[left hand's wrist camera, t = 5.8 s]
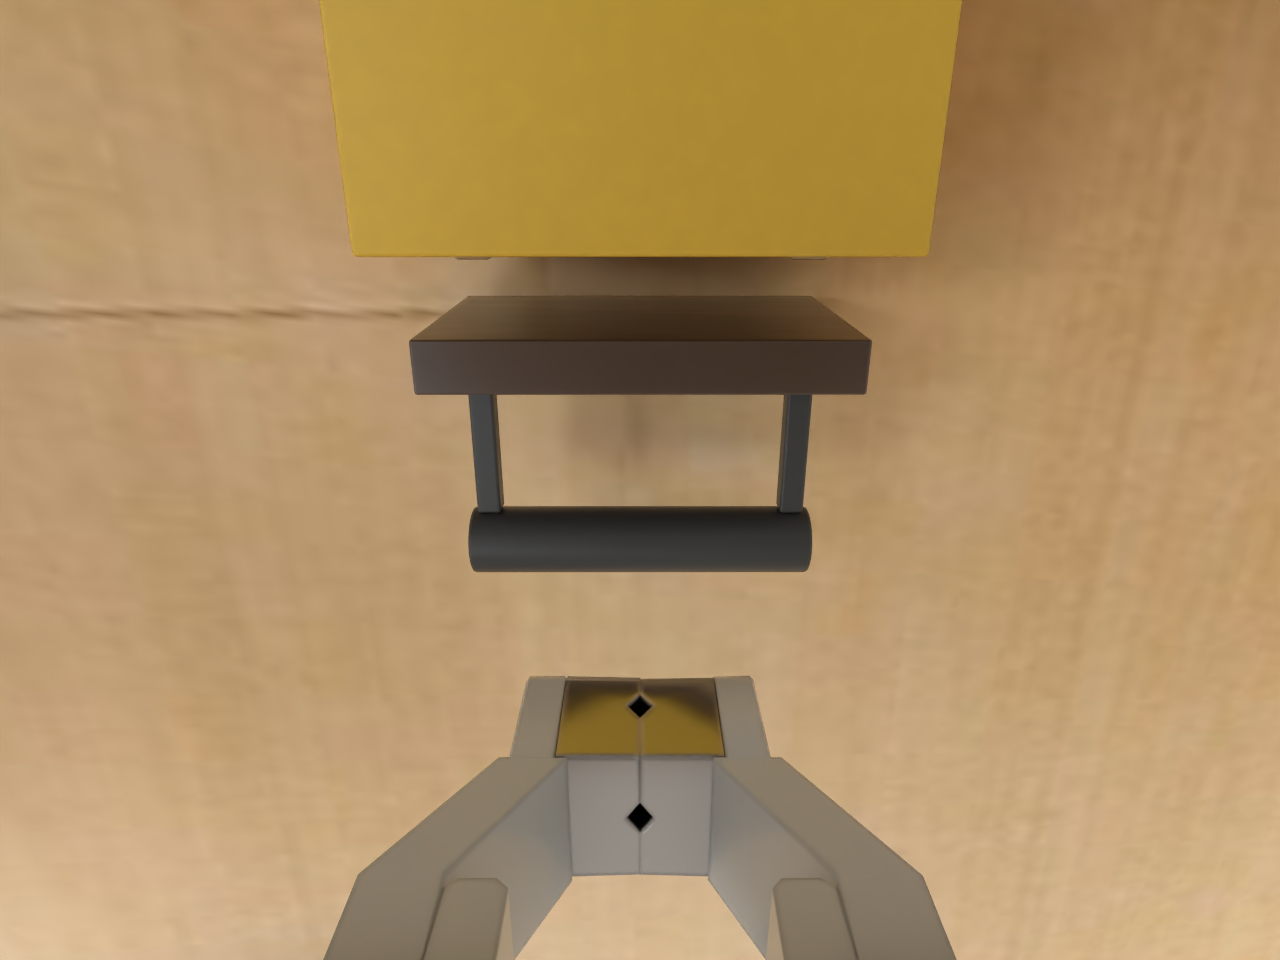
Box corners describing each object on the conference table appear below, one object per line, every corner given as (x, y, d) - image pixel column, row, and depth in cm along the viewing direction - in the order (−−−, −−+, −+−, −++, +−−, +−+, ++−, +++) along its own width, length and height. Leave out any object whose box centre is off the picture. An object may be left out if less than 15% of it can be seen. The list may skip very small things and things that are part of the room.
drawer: (795, 510, 25) (842, 614, 19) (484, 510, 25) (438, 614, 19) (863, -344, 17) (977, -602, 11) (416, -344, 17) (304, -604, 11)
